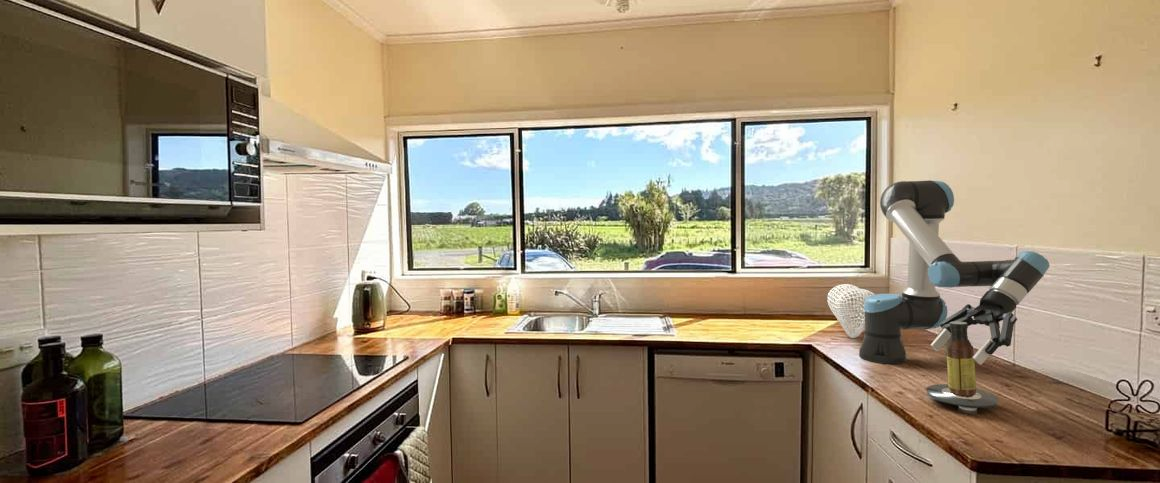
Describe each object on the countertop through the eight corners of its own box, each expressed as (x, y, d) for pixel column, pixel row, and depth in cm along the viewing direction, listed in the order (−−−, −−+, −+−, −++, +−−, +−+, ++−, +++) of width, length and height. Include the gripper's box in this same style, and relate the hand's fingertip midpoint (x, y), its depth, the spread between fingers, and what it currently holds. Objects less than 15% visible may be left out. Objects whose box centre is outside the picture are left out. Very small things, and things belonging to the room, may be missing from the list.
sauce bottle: (977, 392, 144) (976, 321, 143) (974, 398, 140) (974, 325, 139) (948, 387, 149) (948, 319, 148) (945, 393, 144) (944, 323, 143)
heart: (822, 330, 236) (822, 282, 235) (858, 330, 234) (858, 282, 233) (845, 346, 209) (845, 291, 208) (886, 346, 207) (887, 291, 206)
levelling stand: (912, 396, 151) (912, 386, 151) (961, 392, 153) (961, 382, 153) (960, 417, 135) (961, 405, 135) (1013, 412, 138) (1014, 401, 137)
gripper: (1057, 315, 133) (1005, 376, 131) (970, 300, 158) (926, 351, 156) (1040, 295, 132) (988, 357, 130) (955, 283, 156) (910, 335, 155)
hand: (954, 354), depth 143 cm, fingers open, 13 cm apart
